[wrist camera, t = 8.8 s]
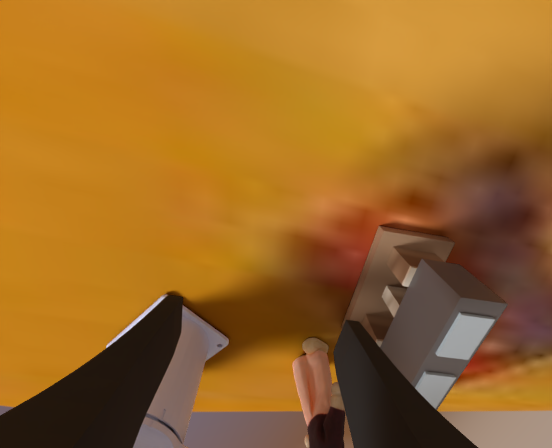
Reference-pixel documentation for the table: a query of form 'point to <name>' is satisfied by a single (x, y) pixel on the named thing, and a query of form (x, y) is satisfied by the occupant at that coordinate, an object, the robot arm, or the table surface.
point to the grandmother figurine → (319, 397)
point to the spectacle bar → (440, 327)
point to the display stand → (391, 276)
